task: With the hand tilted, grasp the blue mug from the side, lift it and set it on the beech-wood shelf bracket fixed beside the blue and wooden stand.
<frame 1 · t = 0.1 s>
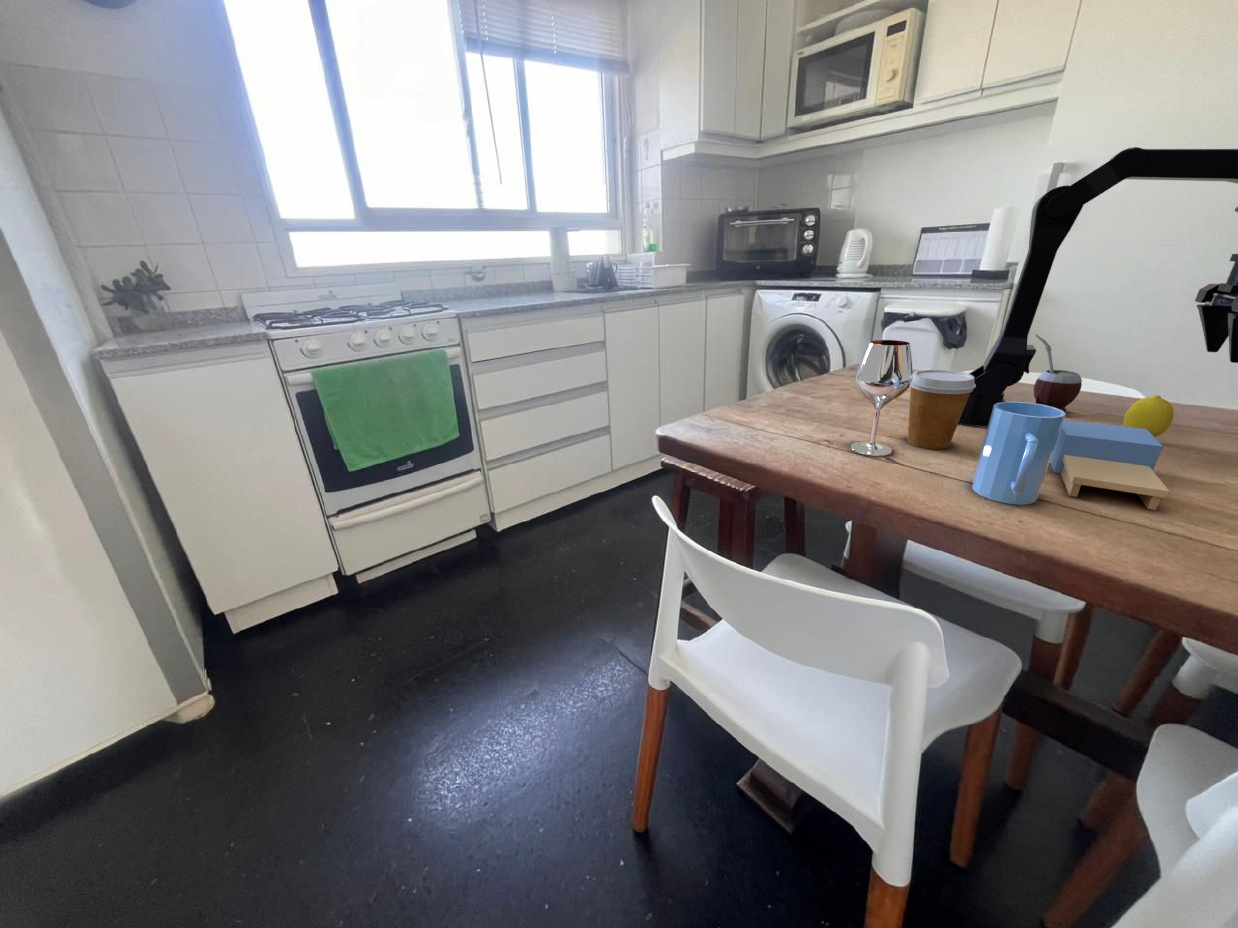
hand: (1223, 357, 75), 15 cm above the table, tool pointing down, fingers open, 9 cm apart
disposable coffee cup: (927, 443, 86), on the table
wineglass: (870, 450, 84), on the table
lemon: (1138, 442, 84), on the table
blue and wooden stand: (1092, 469, 74), on the table
mate gourd: (1045, 412, 100), on the table
blue mug: (1003, 492, 68), on the table
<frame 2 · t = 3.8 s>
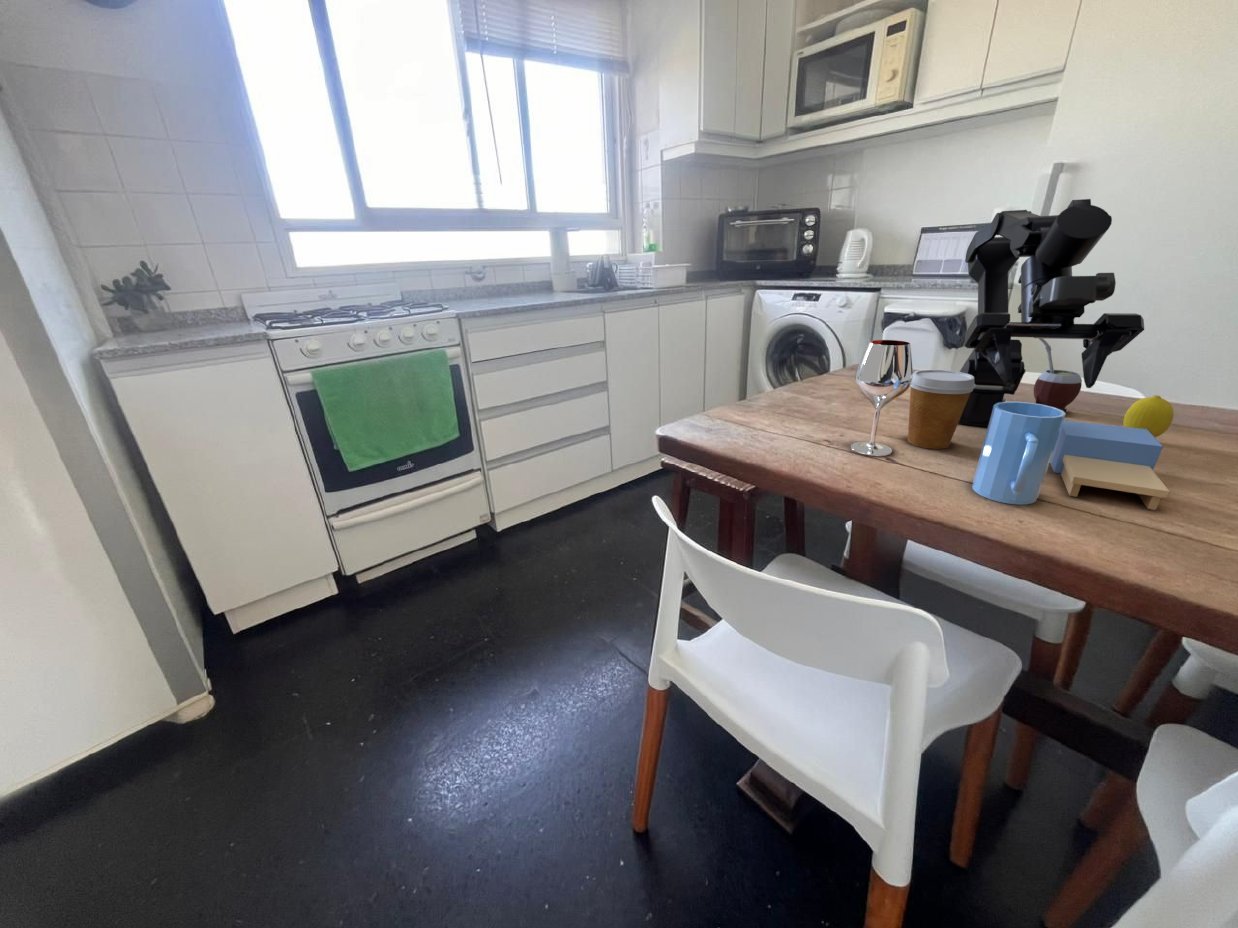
hand: (1048, 384, 68), 14 cm above the table, tool tilted 40°, fingers open, 9 cm apart
nothing on the table moved.
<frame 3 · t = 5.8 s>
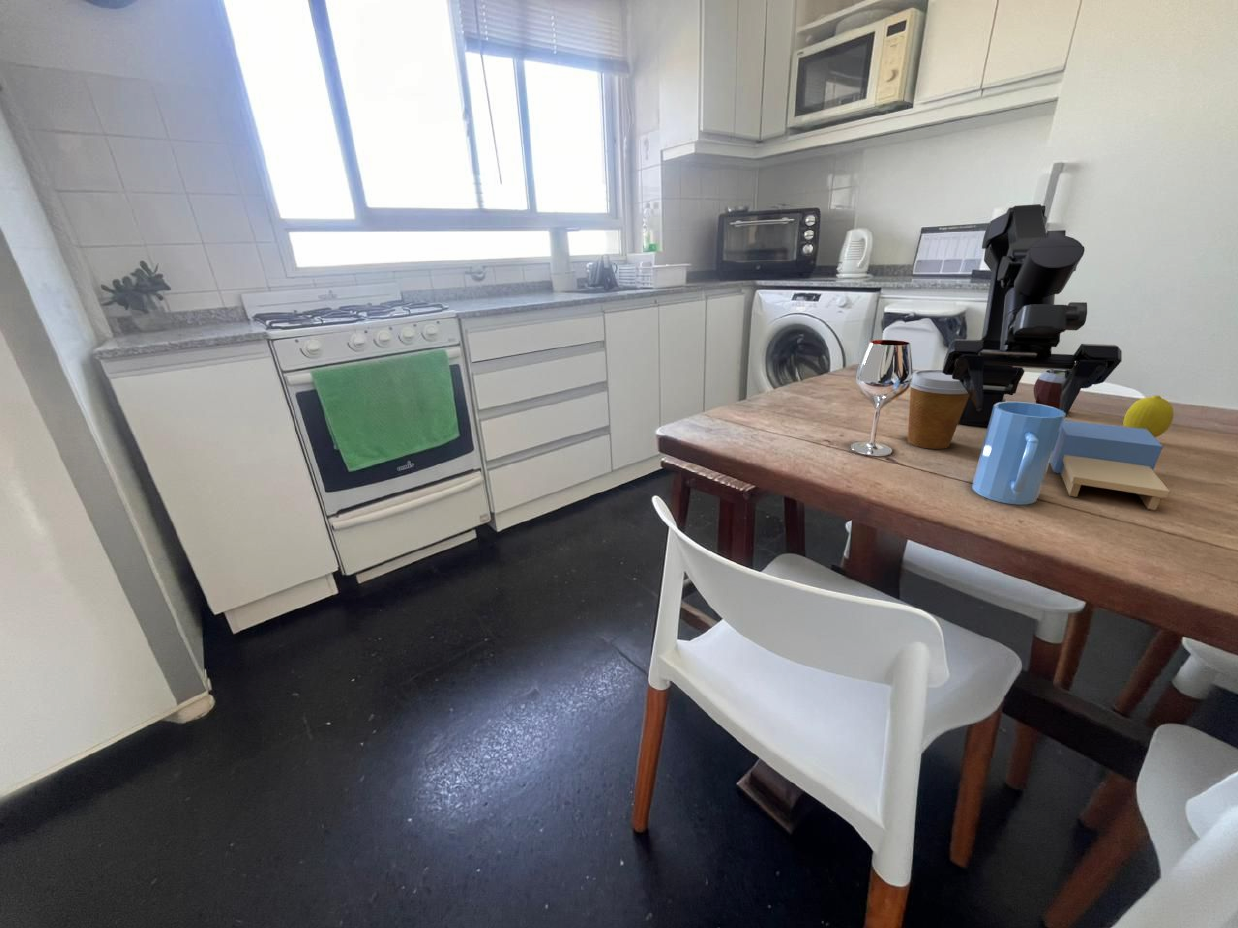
hand: (1020, 412, 67), 10 cm above the table, tool tilted 45°, fingers open, 9 cm apart
nothing on the table moved.
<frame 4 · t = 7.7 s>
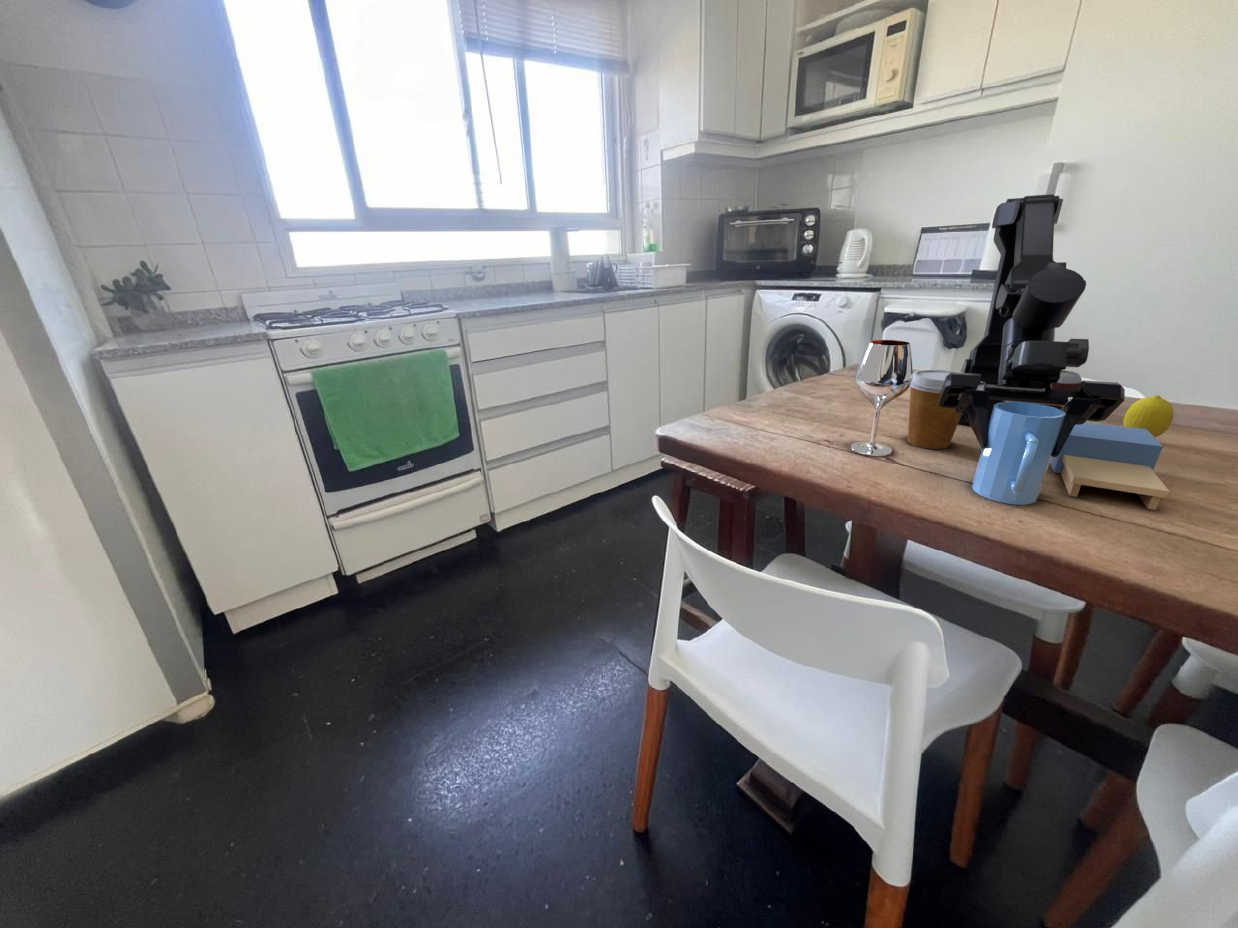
hand: (1018, 451, 64), 7 cm above the table, tool tilted 45°, fingers closed on blue mug, 7 cm apart
blue mug: (1003, 492, 68), on the table, touching gripper
everything else where it was.
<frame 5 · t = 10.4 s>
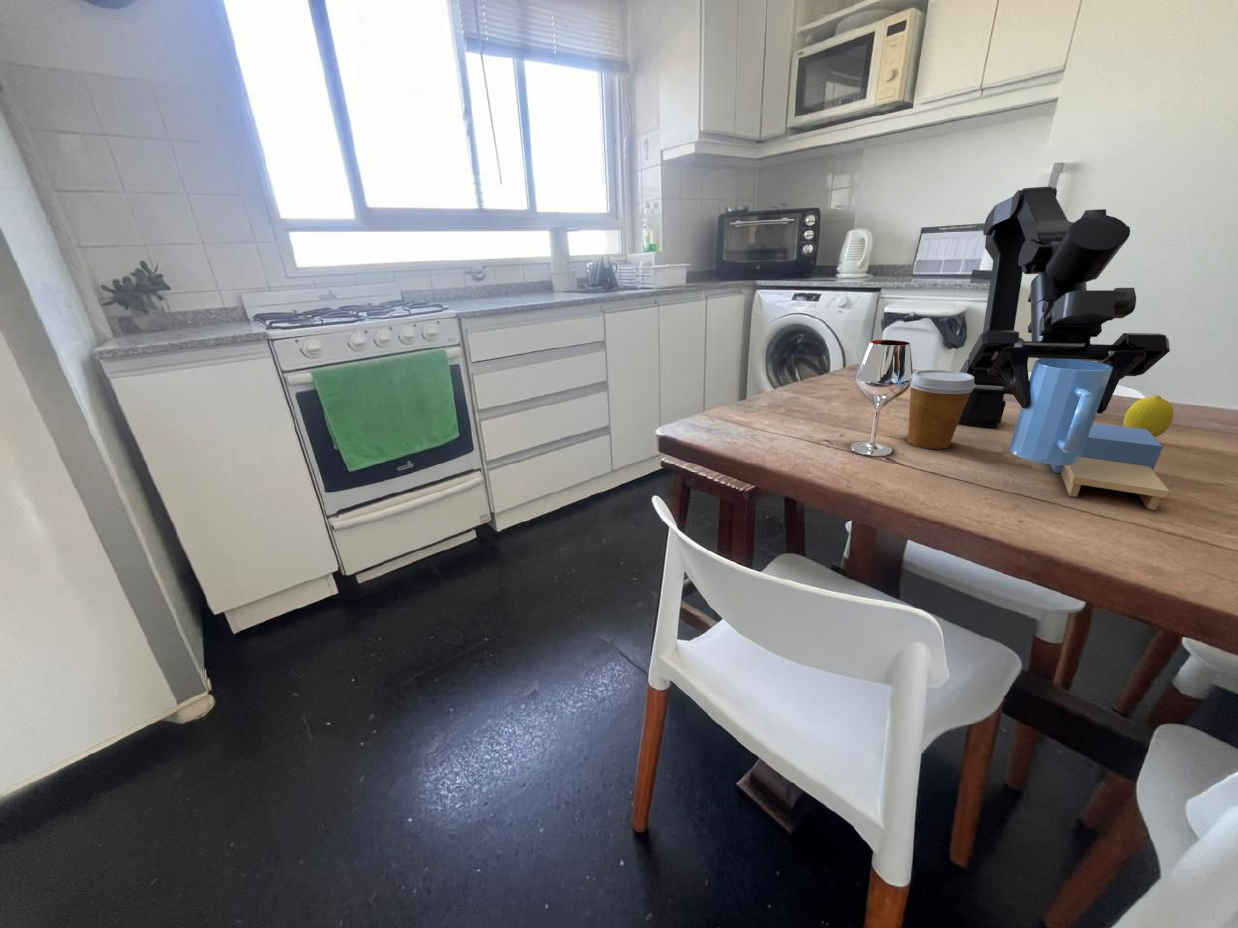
hand: (1062, 409, 61), 12 cm above the table, tool tilted 45°, fingers closed on blue mug, 7 cm apart
blue mug: (1043, 454, 65), point 6 cm above the table, touching gripper
everything else where it was.
when the fingers open (10 cm above the table, at t = 13.5 s): blue mug stays where it is, resting on blue and wooden stand.
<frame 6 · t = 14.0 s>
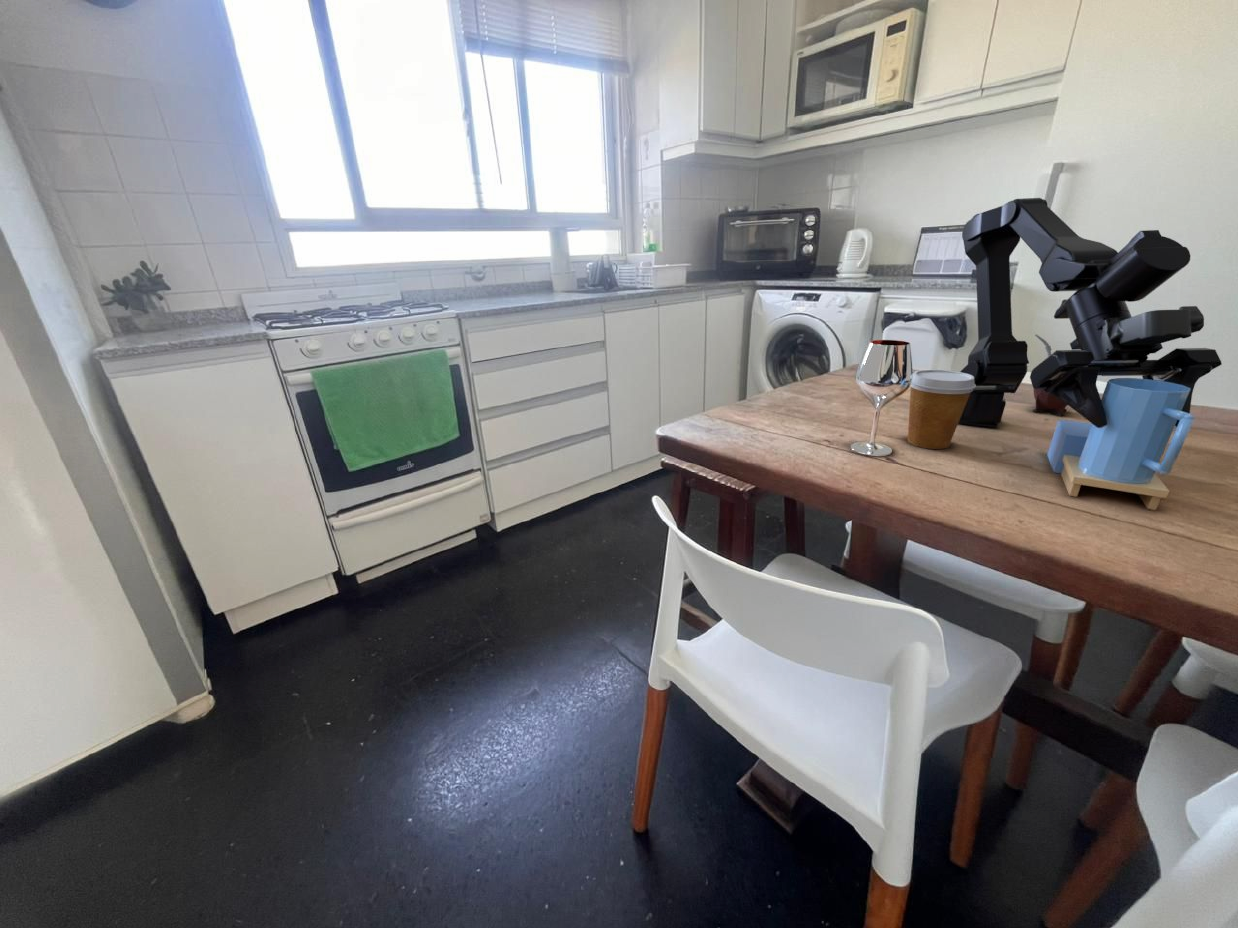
hand: (1142, 426, 62), 10 cm above the table, tool tilted 45°, fingers open, 9 cm apart
blue mug: (1113, 472, 66), point 3 cm above the table, touching blue and wooden stand
everything else where it was.
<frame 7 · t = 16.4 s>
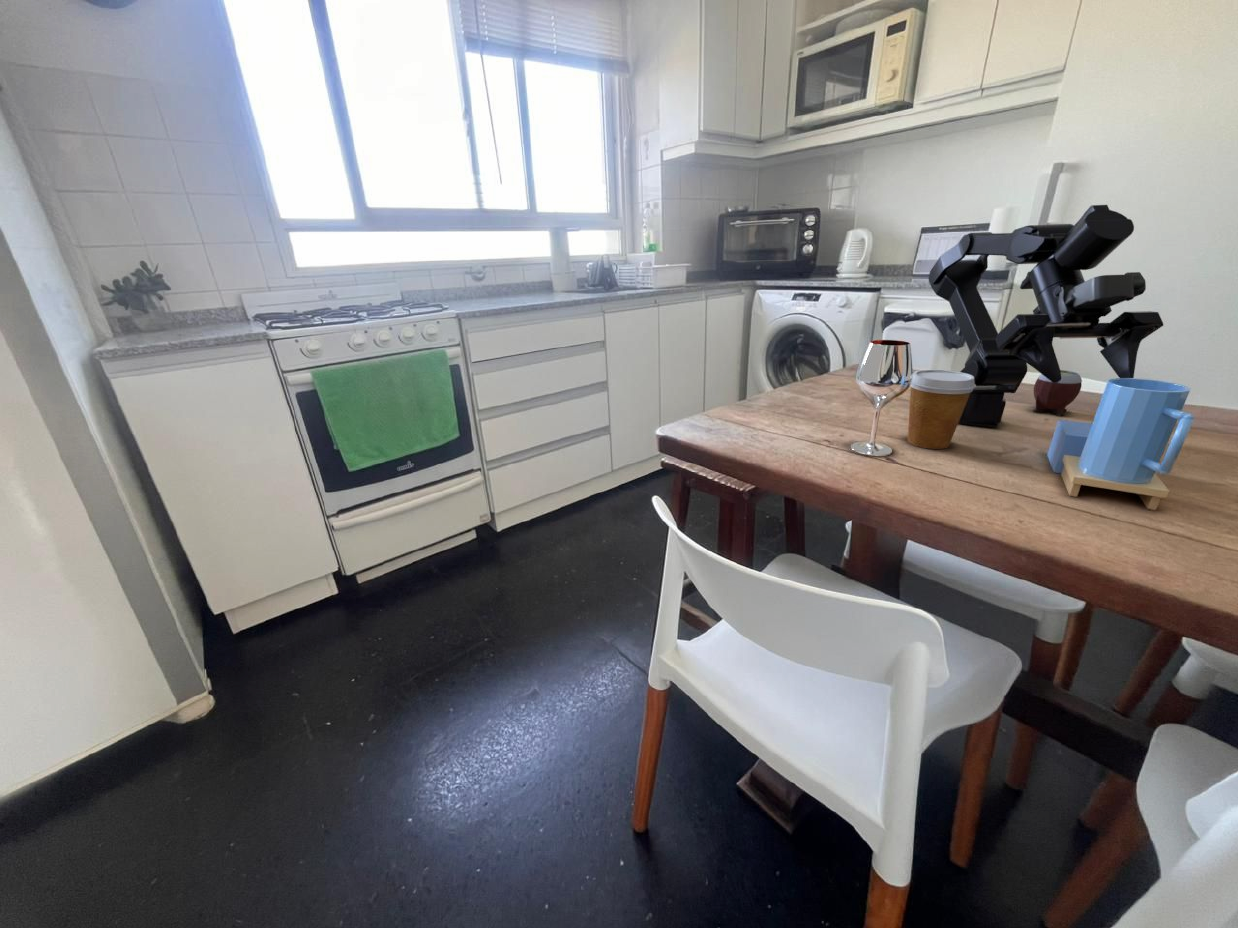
hand: (1093, 381, 69), 14 cm above the table, tool tilted 45°, fingers open, 9 cm apart
nothing on the table moved.
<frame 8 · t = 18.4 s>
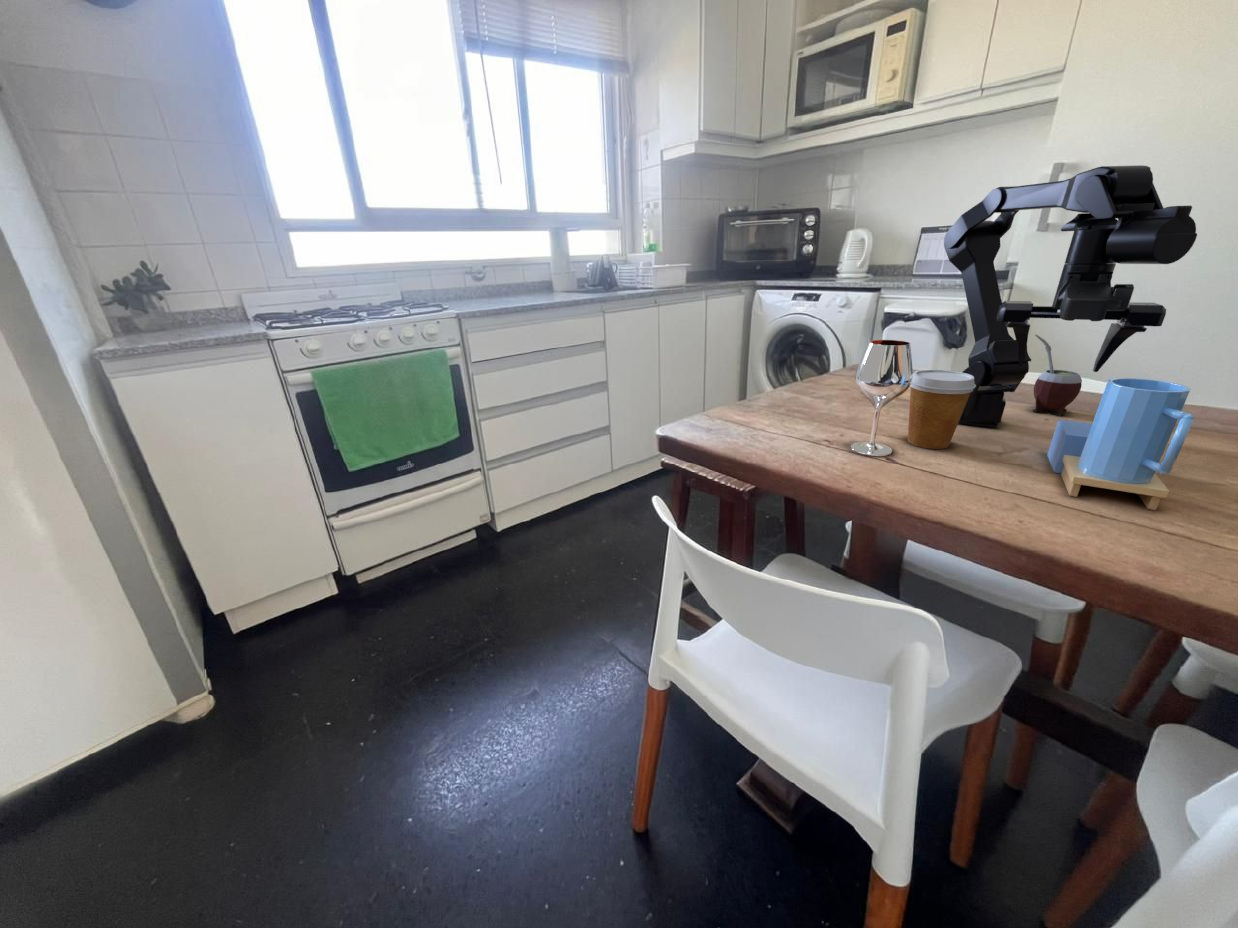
hand: (1056, 368, 79), 13 cm above the table, tool pointing down, fingers open, 9 cm apart
nothing on the table moved.
at the end: blue mug inside the target area on the blue and wooden stand (0.0 cm from its centre), point 3.0 cm above the blue and wooden stand's base; blue mug tilted 0°; the gripper is holding nothing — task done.
